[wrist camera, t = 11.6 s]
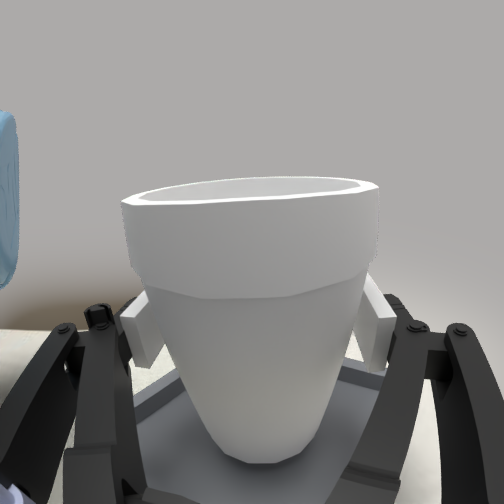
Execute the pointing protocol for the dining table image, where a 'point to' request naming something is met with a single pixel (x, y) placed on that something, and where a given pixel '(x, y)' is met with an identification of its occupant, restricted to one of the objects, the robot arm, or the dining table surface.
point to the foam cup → (256, 297)
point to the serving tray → (239, 472)
